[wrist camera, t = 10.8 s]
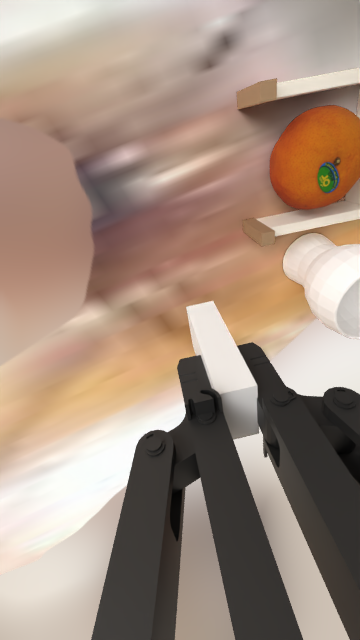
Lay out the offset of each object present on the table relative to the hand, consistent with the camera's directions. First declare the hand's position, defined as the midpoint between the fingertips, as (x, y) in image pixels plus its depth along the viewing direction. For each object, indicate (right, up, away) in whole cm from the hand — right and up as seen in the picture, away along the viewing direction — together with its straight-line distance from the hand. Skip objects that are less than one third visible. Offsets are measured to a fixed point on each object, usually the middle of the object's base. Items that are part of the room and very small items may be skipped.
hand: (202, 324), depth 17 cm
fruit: (+14, +21, +21) cm, 33 cm away
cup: (+18, +10, +29) cm, 35 cm away
